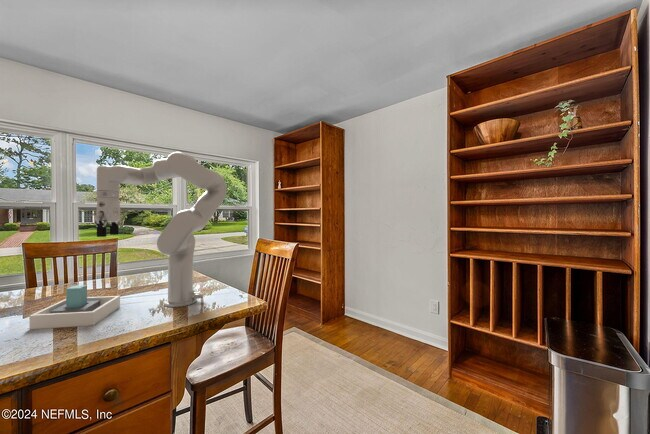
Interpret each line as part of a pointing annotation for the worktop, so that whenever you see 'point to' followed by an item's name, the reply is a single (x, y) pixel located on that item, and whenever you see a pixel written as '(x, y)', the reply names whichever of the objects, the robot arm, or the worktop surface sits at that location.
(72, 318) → the walled box
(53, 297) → the worktop surface
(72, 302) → the peg
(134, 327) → the worktop surface
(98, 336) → the worktop surface
